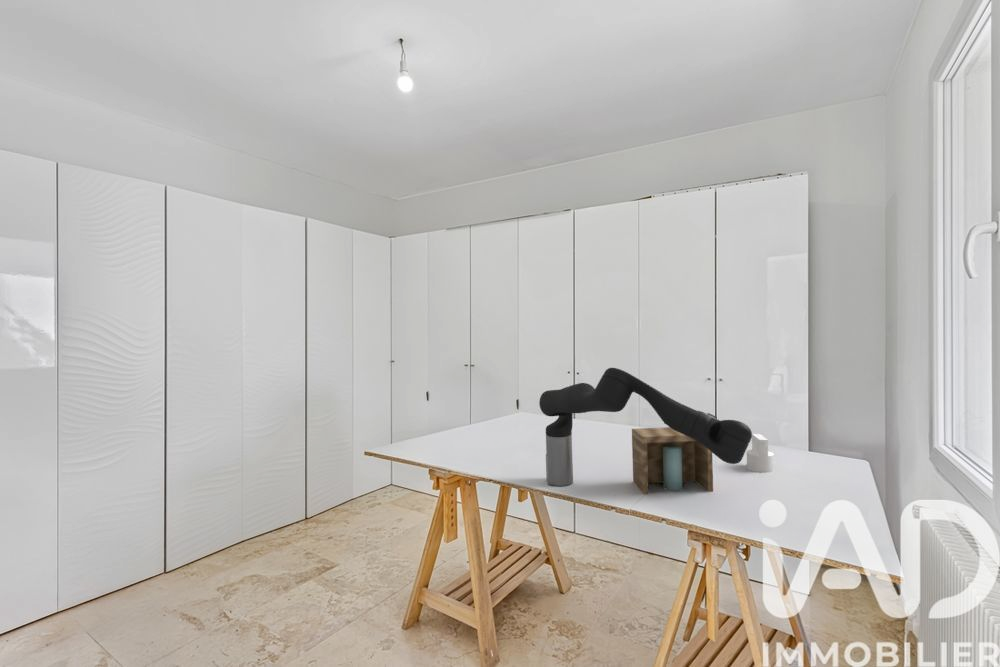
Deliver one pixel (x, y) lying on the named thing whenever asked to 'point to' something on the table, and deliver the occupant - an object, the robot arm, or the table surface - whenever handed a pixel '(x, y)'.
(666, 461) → the tumbler
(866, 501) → the table surface
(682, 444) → the open wooden box
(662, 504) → the table surface
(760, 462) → the base with upright slab
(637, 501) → the table surface
